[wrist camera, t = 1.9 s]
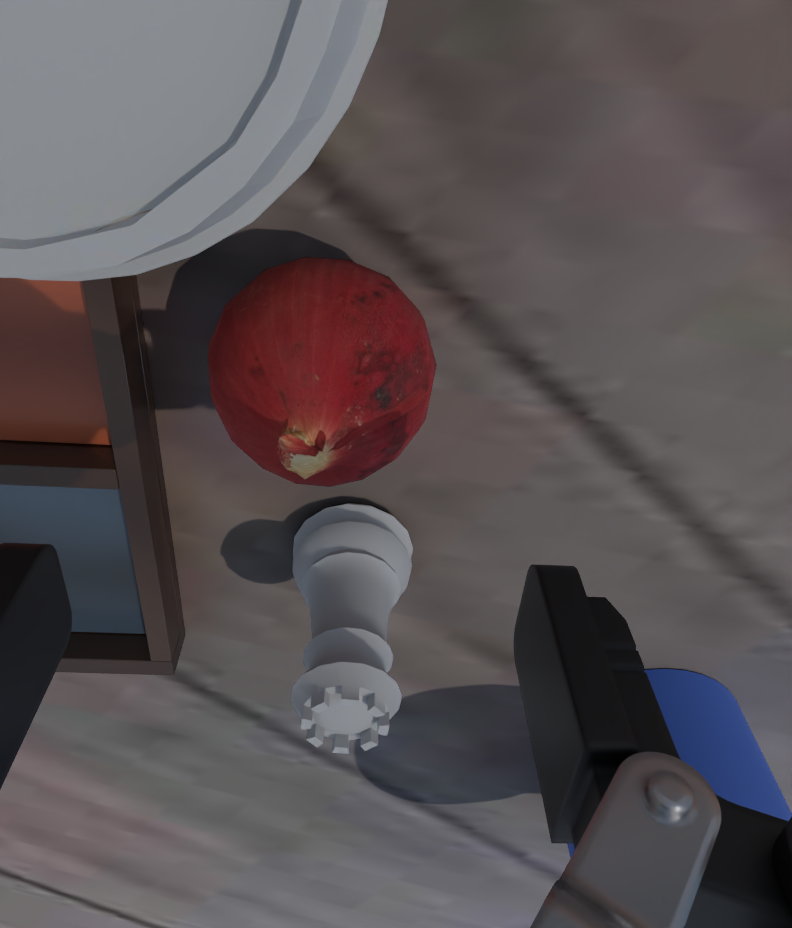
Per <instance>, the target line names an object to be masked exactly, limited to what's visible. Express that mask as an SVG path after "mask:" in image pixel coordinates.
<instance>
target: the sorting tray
mask: <svg viewBox="0 0 792 928" xmlns="http://www.w3.org/2000/svg"><path fill="white" fill-rule="evenodd" d="M2 543H30V544H50V545H52V546H54V548H55V549H56V551H57V554H58V558H59V562H60V566H61V570H62V574H63V578H64V582H65V586H66V590H67V594H68V598H69V602H70V606H71V610H72V628H71V634H70V639H69V642H68V645H67V648H66V650H65V652H64V654H63V656H62V658H61V661H60V663H59V665H58V667H57V669H56V671H55V672H77V673H112V674H147V675H174V673H175V670H176V666H177V663H178V659H179V656H180V652H181V649H182V644H183V641H184V638H185V628H184V621H183V614H182V607H181V599H180V592H179V585H178V577H177V570H176V563H175V556H174V548H173V541H172V534H171V527H170V519H169V512H168V505H167V497H166V490H165V483H164V476H163V468H162V461H161V454H160V446H159V439H158V432H157V425H156V417H155V410H154V403H153V395H152V388H151V381H150V374H149V366H148V359H147V352H146V345H145V337H144V330H143V323H142V315H141V308H140V301H139V294H138V286H137V279H136V275H130V276H121V277H112V278H103V279H94V280H85V281H51V280H28V279H22V278H0V544H2Z"/></svg>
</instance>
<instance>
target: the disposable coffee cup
mask: <svg viewBox="0 0 792 928" xmlns="http://www.w3.org/2000/svg"><path fill="white" fill-rule="evenodd" d="M387 2H388V0H0V278H22V279H28V280H51V281H85V280H94V279H103V278H112V277H121V276H130V275H138V274H141V273H143V272H146V271H149V270H152V269H155V268H158V267H161V266H164V265H167V264H170V263H173V262H176V261H179V260H182V259H185V258H188V257H191V256H194V255H197V254H198V253H200V252H202V251H204V250H205V249H207V248H209V247H210V246H212V245H214V244H216V243H217V242H219V241H221V240H223V239H224V238H226V237H228V236H229V235H231V234H233V233H235V232H236V231H238V230H240V229H242V228H243V227H245V226H247V225H248V224H250V223H252V222H253V221H254V220H255V219H256V218H258V217H259V216H260V215H261V214H262V213H263V212H264V211H265V210H266V209H267V208H268V207H269V206H270V205H271V204H272V203H273V202H274V201H275V200H276V199H277V198H278V197H279V196H280V195H281V194H282V193H283V192H284V191H285V190H286V189H287V188H288V187H289V186H290V185H291V184H293V183H294V182H295V181H296V180H297V179H298V178H299V177H300V176H301V175H302V174H303V173H304V172H305V171H306V170H307V169H308V168H309V166H310V165H311V163H312V162H313V160H314V159H315V157H316V156H317V154H318V153H319V151H320V150H321V148H322V147H323V145H324V144H325V142H326V141H327V139H328V138H329V136H330V135H331V133H332V132H333V130H334V129H335V127H336V126H337V124H338V123H339V121H340V120H341V118H342V117H343V115H344V114H345V112H346V111H347V109H348V108H349V106H350V103H351V101H352V99H353V96H354V94H355V92H356V89H357V87H358V85H359V82H360V80H361V78H362V75H363V73H364V70H365V68H366V66H367V63H368V61H369V59H370V56H371V54H372V51H373V49H374V47H375V44H376V42H377V40H378V37H379V34H380V30H381V26H382V22H383V18H384V14H385V10H386V6H387Z"/></svg>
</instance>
